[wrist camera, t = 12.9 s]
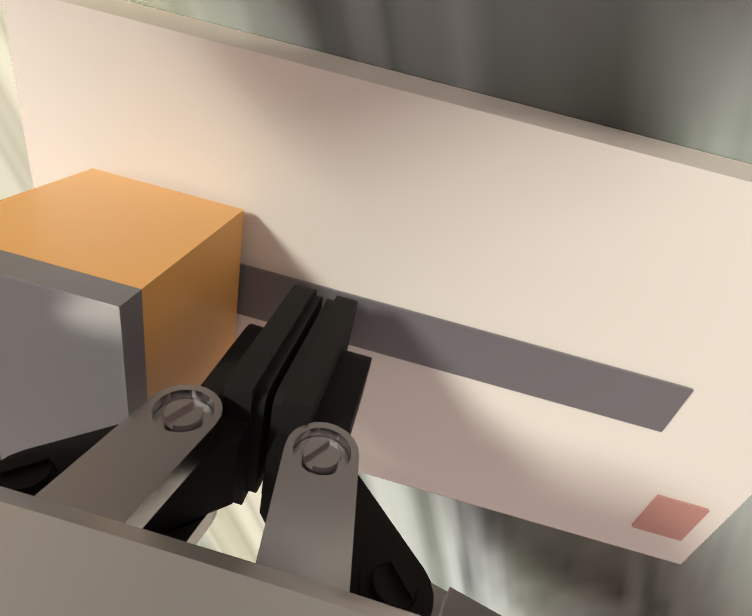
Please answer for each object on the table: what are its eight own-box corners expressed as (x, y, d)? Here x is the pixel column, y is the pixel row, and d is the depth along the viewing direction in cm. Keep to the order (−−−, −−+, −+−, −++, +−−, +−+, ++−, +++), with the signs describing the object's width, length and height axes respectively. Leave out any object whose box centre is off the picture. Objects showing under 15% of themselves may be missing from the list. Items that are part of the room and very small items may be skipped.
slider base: (860, 193, 13) (1005, 249, 10) (642, 471, 19) (681, 567, 16) (114, -2, 14) (-6, -16, 10) (136, 327, 20) (66, 389, 16)
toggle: (246, 207, 12) (119, 306, 7) (234, 364, 14) (136, 504, 10) (90, 165, 12) (-124, 238, 7) (107, 328, 14) (-43, 451, 10)
